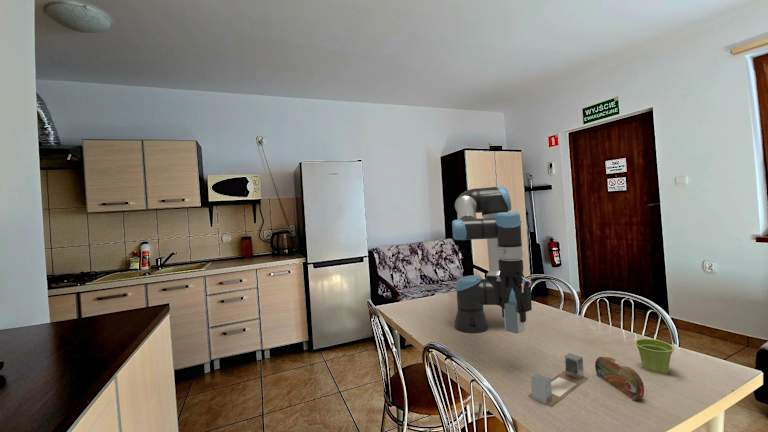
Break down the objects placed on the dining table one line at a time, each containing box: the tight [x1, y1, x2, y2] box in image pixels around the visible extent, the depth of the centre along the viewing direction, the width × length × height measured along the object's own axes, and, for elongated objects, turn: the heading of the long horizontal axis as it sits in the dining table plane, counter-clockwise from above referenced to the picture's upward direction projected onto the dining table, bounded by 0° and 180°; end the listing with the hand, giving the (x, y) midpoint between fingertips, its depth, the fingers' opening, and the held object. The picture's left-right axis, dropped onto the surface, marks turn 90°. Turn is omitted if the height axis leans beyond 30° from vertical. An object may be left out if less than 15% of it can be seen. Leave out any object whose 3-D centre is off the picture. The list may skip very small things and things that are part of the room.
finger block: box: [504, 301, 519, 335], centre depth 106 cm, size 4×5×9 cm
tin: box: [594, 356, 645, 401], centre depth 93 cm, size 15×3×8 cm, turn 5°
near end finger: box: [530, 373, 552, 406], centre depth 90 cm, size 4×4×6 cm
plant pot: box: [634, 338, 675, 376], centre depth 102 cm, size 9×9×9 cm
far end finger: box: [564, 352, 585, 380], centre depth 100 cm, size 4×4×6 cm
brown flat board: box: [527, 370, 590, 408], centre depth 95 cm, size 7×22×1 cm, turn 125°
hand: (514, 329), depth 106 cm, fingers closed on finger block, 4 cm apart
